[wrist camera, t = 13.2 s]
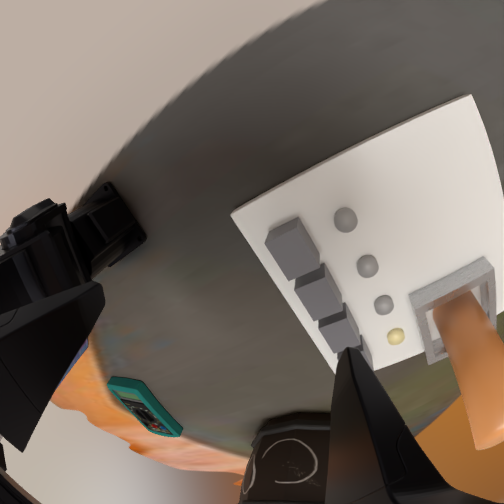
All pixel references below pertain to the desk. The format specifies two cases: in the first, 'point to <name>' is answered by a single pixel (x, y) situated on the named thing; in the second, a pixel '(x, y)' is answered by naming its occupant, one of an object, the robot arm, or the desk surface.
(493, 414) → the plug
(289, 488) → the black drum container
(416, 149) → the breaker panel
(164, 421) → the digital multimeter
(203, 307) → the desk surface
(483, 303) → the socket collar
